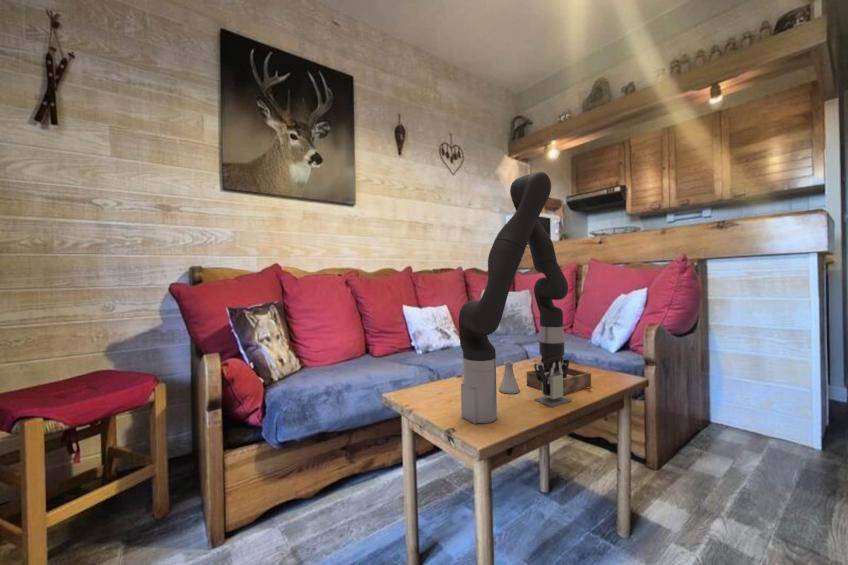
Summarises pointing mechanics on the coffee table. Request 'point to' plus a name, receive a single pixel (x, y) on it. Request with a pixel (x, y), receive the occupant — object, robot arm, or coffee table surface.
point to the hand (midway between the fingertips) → (552, 393)
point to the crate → (564, 380)
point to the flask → (509, 380)
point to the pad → (552, 401)
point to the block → (555, 386)
